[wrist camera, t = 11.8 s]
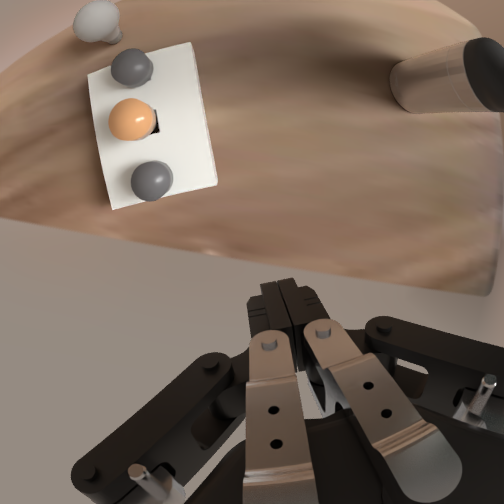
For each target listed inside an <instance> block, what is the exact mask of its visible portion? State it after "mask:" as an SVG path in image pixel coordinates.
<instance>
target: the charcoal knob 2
mask: <svg viewBox="0 0 504 504" xmlns="http://www.w3.org/2000/svg"><path fill="white" fill-rule="evenodd" d="M172 184H173V173H172V170H171V169H170V167H169V166H168V165H167V164H166V163H164V162H161V161H150V162H146V163H143V164H141V165H139V166H138V167H137V168H136V169H135V170H134V172H133V174H132V176H131V188H132V190H133V192H134V194H135V195H136V196H137V197H138V198H139V199H141V200H144V201H155V200H158V199H159V198H161V197H162V196H163V195H164V194H166V193H167V192H168V191H169V190H170V188H171V186H172Z"/></svg>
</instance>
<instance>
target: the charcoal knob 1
mask: <svg viewBox="0 0 504 504" xmlns="http://www.w3.org/2000/svg"><path fill="white" fill-rule="evenodd" d="M152 73H153V63H152V61H151V60H150V59H149V58H148V57H147V56H146V55H145V54H144V52H142V51H141V50H139V49H127V50H125V51H123V52H121V53H120V54H119V55H117V56H116V58H115V59H114V61H113V63H112V65H111V75H112V77H113V78H114V80H116V81H117V82H119V83H121V84H123V85H124V86H126V87H129V88H137V87H140V86H142V85H144V84H145V83H146V82H147V81H150V80H151V76H152Z"/></svg>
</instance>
